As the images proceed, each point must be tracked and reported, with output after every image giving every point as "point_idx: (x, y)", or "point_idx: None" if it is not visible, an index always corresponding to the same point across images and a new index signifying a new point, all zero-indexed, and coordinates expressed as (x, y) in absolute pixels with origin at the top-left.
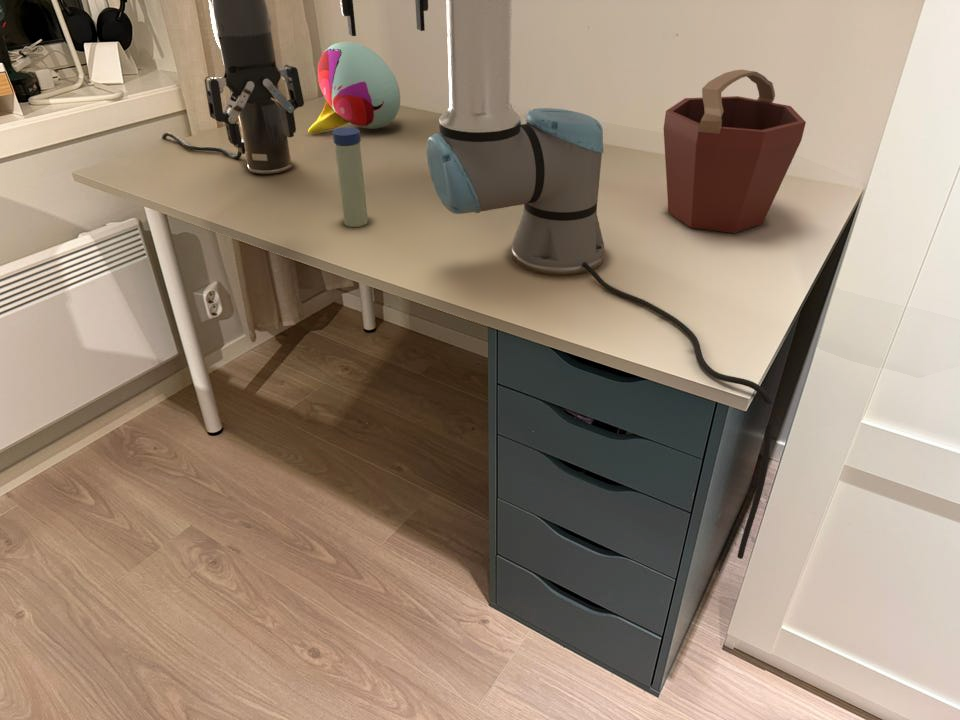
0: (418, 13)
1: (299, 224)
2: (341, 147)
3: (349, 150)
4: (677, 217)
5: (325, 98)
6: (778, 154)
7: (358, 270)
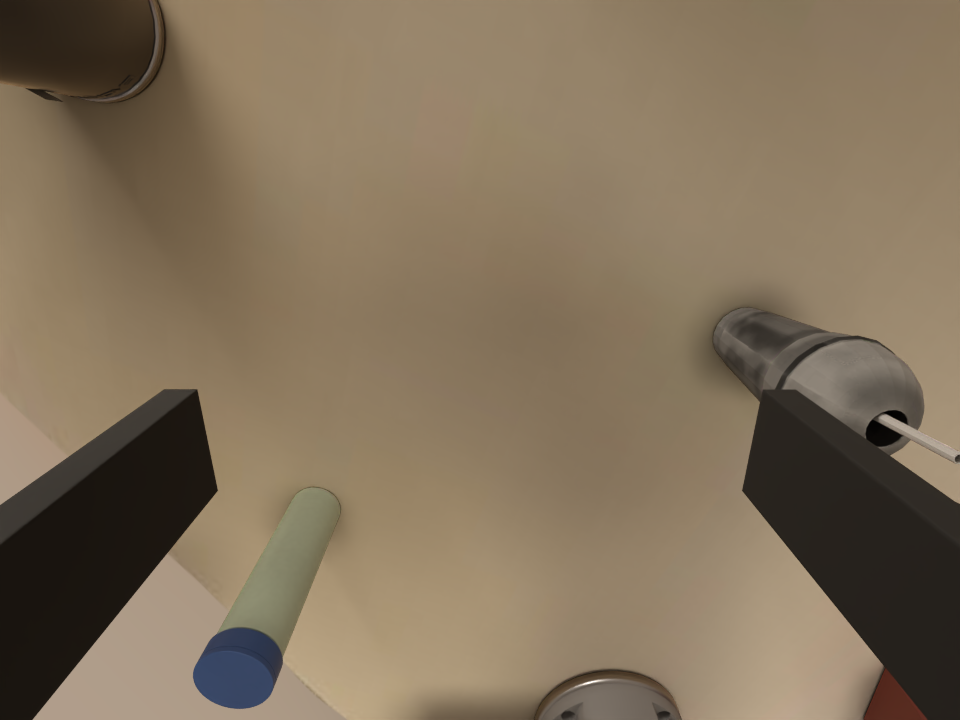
0: (826, 533)
1: None
2: None
3: None
4: (877, 691)
5: None
6: None
7: (294, 667)
